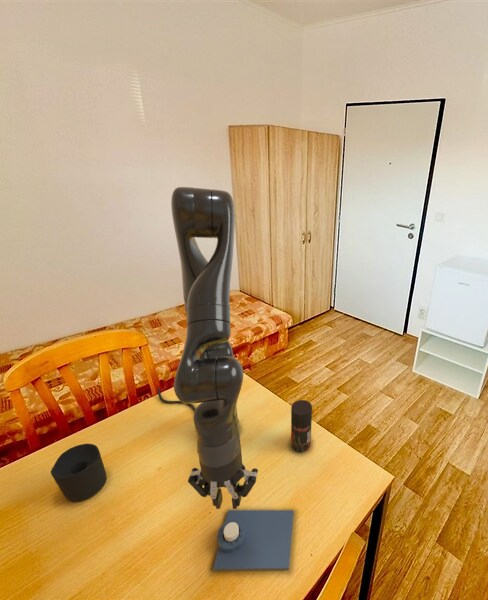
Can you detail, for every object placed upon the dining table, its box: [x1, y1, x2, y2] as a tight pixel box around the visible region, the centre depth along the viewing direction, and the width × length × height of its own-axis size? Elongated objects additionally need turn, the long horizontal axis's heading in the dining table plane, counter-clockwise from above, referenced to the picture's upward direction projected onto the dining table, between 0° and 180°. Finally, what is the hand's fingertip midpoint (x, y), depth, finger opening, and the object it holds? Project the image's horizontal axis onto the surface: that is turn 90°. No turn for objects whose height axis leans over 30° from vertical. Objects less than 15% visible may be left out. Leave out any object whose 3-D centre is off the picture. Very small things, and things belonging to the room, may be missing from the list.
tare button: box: [224, 522, 239, 542], centre depth 71 cm, size 3×3×2 cm
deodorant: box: [290, 399, 313, 453], centre depth 94 cm, size 6×6×15 cm
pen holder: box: [50, 443, 108, 503], centre depth 79 cm, size 9×9×10 cm
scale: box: [212, 509, 294, 572], centre depth 72 cm, size 17×12×2 cm
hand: (227, 504), depth 67 cm, fingers open, 3 cm apart
